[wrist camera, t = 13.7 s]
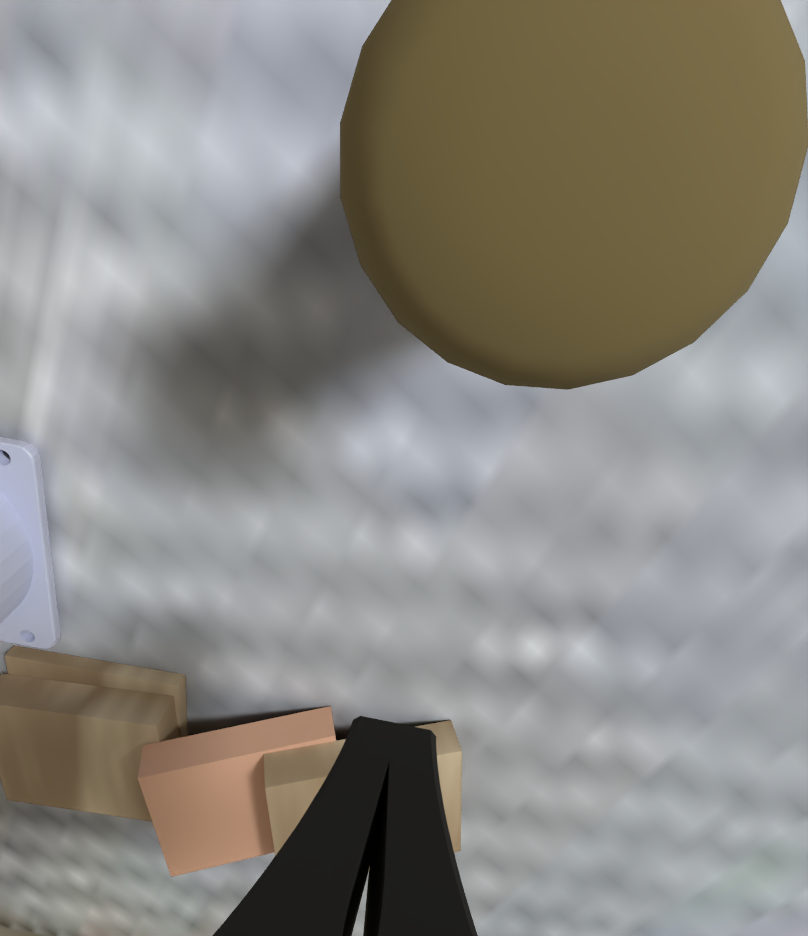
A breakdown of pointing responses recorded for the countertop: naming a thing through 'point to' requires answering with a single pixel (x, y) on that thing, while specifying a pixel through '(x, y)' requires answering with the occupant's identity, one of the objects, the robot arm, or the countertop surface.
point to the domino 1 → (100, 675)
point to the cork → (570, 175)
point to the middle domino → (79, 743)
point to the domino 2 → (220, 788)
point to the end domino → (306, 769)
